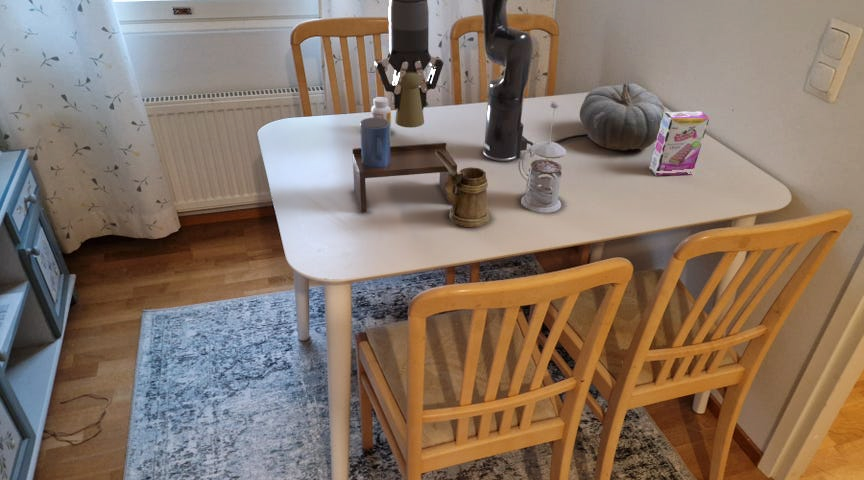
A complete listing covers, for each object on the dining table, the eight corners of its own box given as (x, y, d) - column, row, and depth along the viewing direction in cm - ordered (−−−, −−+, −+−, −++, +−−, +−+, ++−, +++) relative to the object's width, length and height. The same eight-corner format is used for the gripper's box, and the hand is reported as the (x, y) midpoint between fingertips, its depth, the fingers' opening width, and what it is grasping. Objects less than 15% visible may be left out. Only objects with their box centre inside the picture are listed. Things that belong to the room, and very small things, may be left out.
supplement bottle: (386, 127, 184) (385, 94, 178) (394, 134, 180) (393, 101, 175) (368, 130, 181) (367, 97, 176) (376, 137, 178) (375, 103, 172)
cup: (387, 154, 145) (386, 116, 140) (394, 170, 139) (394, 130, 134) (359, 156, 144) (357, 117, 138) (365, 172, 137) (364, 132, 132)
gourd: (635, 113, 200) (647, 62, 188) (677, 158, 184) (693, 105, 172) (563, 126, 194) (570, 74, 182) (600, 173, 178) (611, 120, 165)
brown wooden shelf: (443, 184, 157) (445, 142, 150) (455, 204, 149) (457, 160, 143) (354, 192, 150) (352, 148, 144) (361, 212, 143) (359, 167, 136)
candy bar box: (656, 177, 169) (671, 118, 160) (648, 168, 173) (662, 110, 164) (693, 175, 172) (710, 117, 162) (684, 167, 175) (700, 110, 166)
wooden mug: (424, 216, 143) (426, 141, 133) (476, 205, 149) (482, 133, 139) (442, 235, 137) (445, 158, 127) (496, 222, 143) (503, 148, 133)
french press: (549, 217, 147) (565, 113, 133) (506, 201, 152) (517, 100, 138) (568, 201, 154) (584, 101, 140) (526, 187, 159) (538, 88, 145)
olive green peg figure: (419, 129, 130) (419, 75, 123) (391, 125, 130) (389, 72, 124) (427, 118, 134) (427, 66, 128) (400, 114, 135) (399, 62, 129)
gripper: (375, 29, 116) (379, 119, 126) (450, 27, 120) (448, 113, 130) (367, 19, 122) (372, 105, 132) (439, 16, 126) (438, 100, 136)
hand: (409, 109), depth 131 cm, fingers closed on olive green peg figure, 4 cm apart
